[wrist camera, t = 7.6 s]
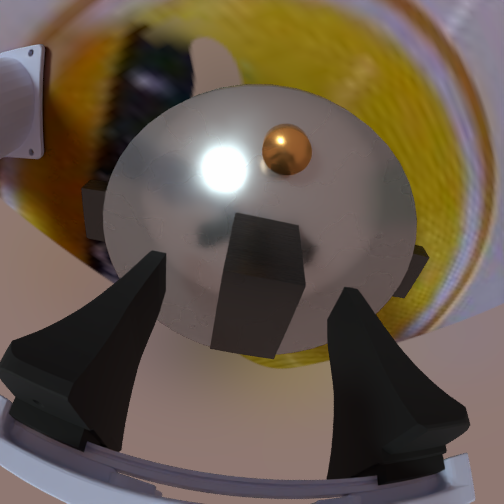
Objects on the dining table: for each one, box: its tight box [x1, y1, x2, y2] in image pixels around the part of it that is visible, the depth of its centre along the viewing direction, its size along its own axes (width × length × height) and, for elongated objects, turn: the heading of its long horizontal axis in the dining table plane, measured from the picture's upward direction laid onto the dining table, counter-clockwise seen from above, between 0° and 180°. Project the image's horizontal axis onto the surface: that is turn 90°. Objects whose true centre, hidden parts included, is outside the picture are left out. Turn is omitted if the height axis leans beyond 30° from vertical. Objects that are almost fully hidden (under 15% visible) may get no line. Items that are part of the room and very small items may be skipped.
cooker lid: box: [103, 84, 417, 359], centre depth 12 cm, size 14×14×4 cm
